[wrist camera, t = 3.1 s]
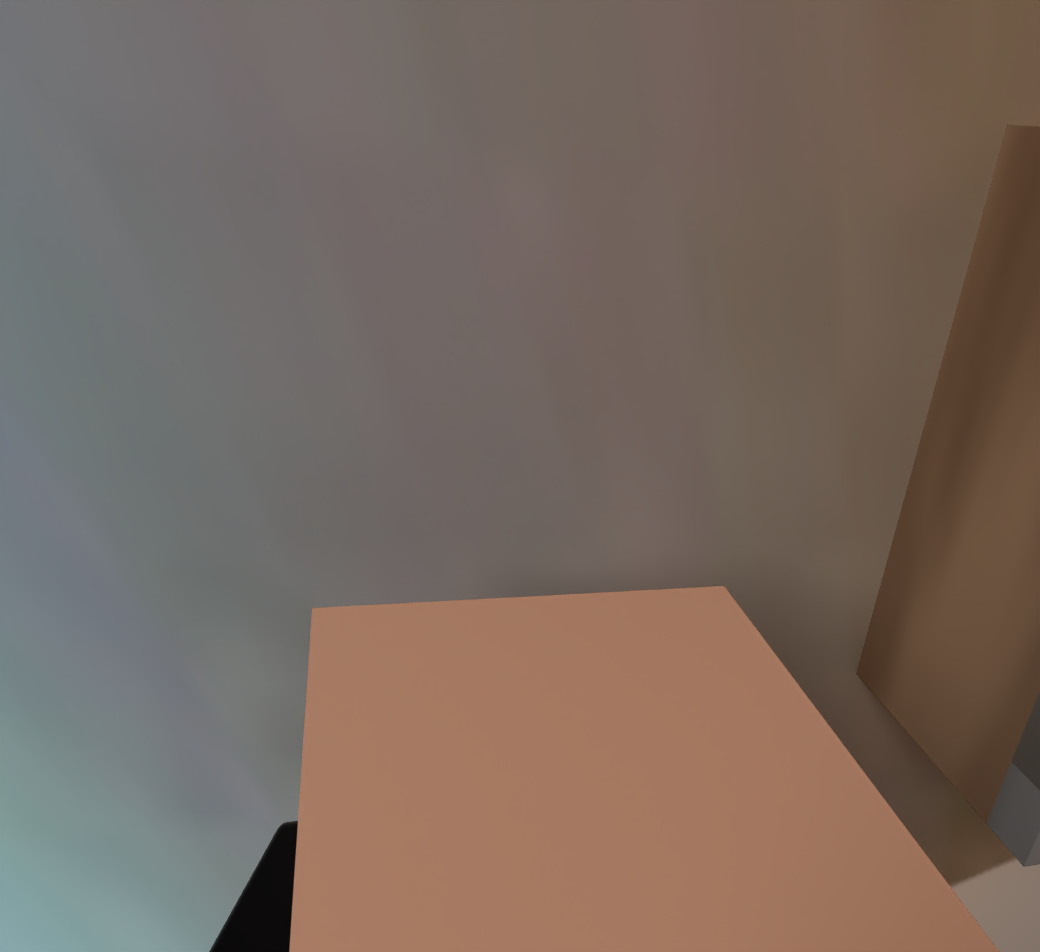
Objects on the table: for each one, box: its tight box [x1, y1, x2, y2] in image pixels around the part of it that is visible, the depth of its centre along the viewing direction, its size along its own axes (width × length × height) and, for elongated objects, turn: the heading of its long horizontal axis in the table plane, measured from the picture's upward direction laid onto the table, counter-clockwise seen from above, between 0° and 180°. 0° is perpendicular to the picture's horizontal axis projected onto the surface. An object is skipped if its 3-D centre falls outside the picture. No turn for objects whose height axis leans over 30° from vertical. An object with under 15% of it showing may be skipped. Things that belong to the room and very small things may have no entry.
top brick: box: [289, 586, 999, 952], centre depth 9 cm, size 5×5×5 cm
